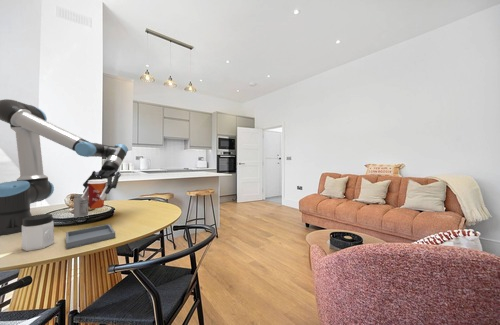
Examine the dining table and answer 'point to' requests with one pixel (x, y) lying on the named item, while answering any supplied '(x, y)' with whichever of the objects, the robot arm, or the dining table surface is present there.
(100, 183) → the paper cup
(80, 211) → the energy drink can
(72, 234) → the tray
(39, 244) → the jar
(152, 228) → the dining table surface
